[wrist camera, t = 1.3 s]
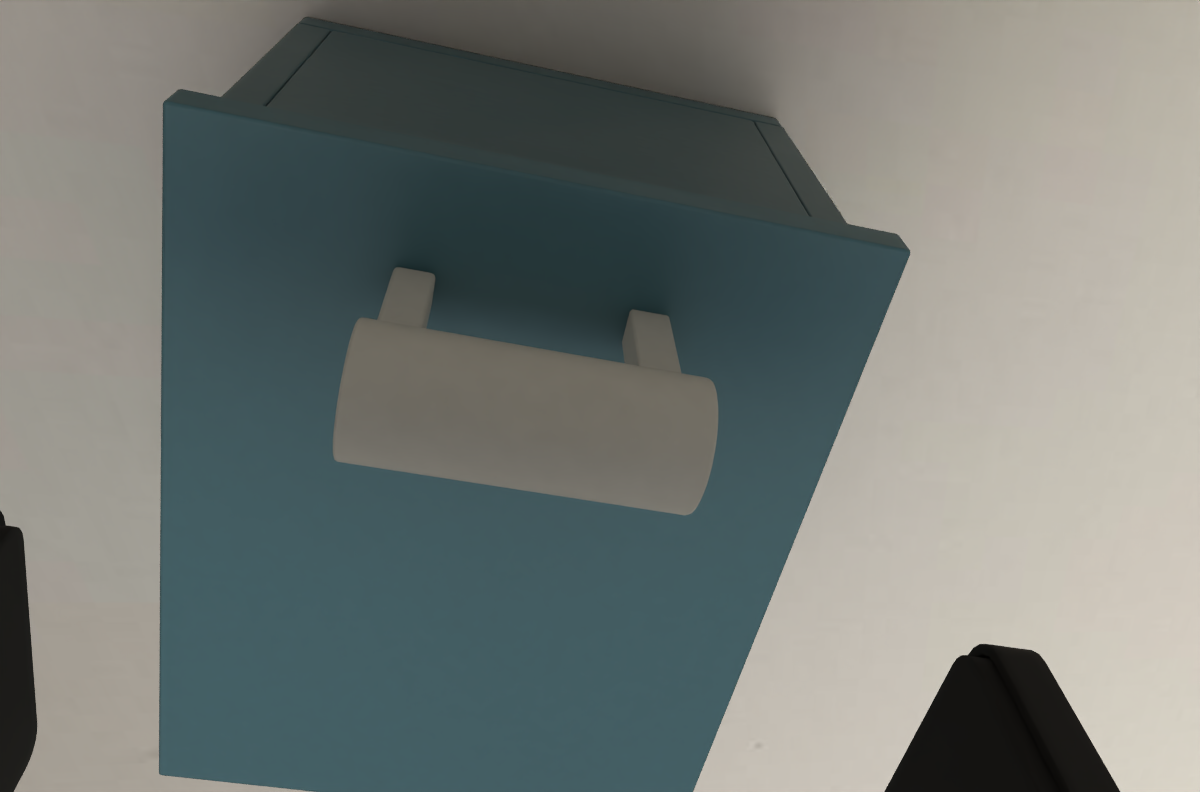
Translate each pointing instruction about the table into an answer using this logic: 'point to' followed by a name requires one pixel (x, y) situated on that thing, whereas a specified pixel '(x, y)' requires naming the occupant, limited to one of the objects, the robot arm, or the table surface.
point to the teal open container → (533, 115)
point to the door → (476, 455)
